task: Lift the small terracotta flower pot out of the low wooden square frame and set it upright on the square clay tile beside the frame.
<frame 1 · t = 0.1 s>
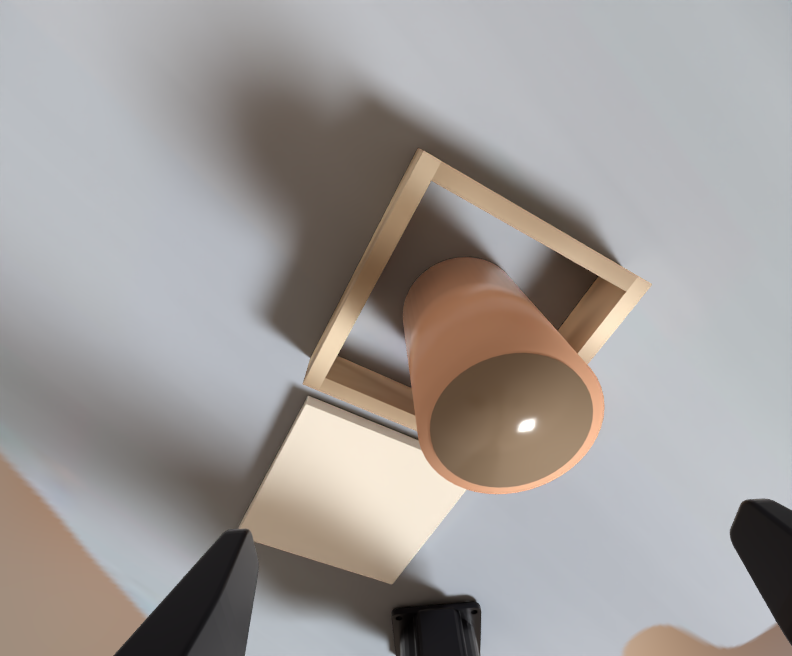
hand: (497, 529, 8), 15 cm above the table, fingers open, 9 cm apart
tile: (354, 495, 27), on the table
pot: (480, 357, 18), in the wooden square frame
wooden square frame: (461, 314, 22), on the table
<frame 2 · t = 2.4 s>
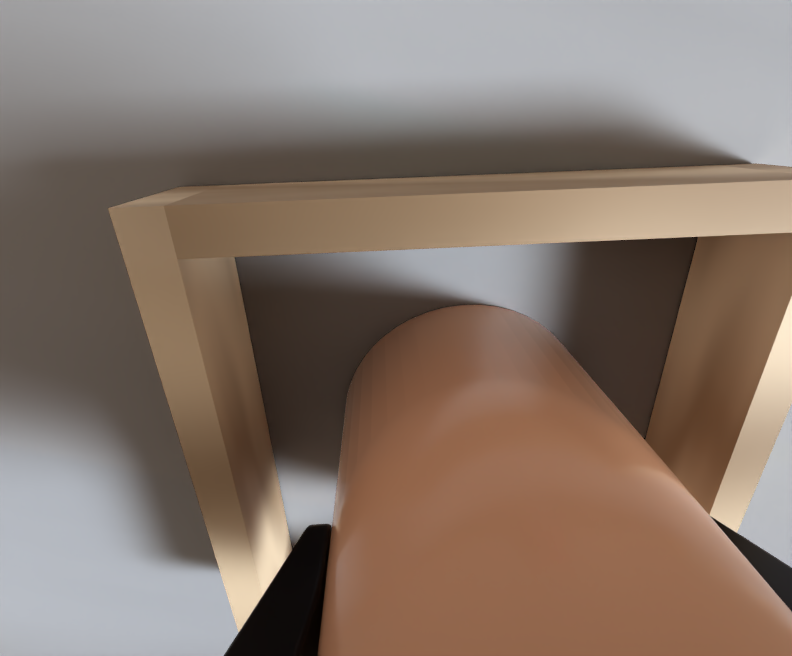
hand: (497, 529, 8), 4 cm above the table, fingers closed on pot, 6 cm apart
pot: (513, 581, 7), in the wooden square frame, touching gripper
wooden square frame: (462, 413, 11), on the table
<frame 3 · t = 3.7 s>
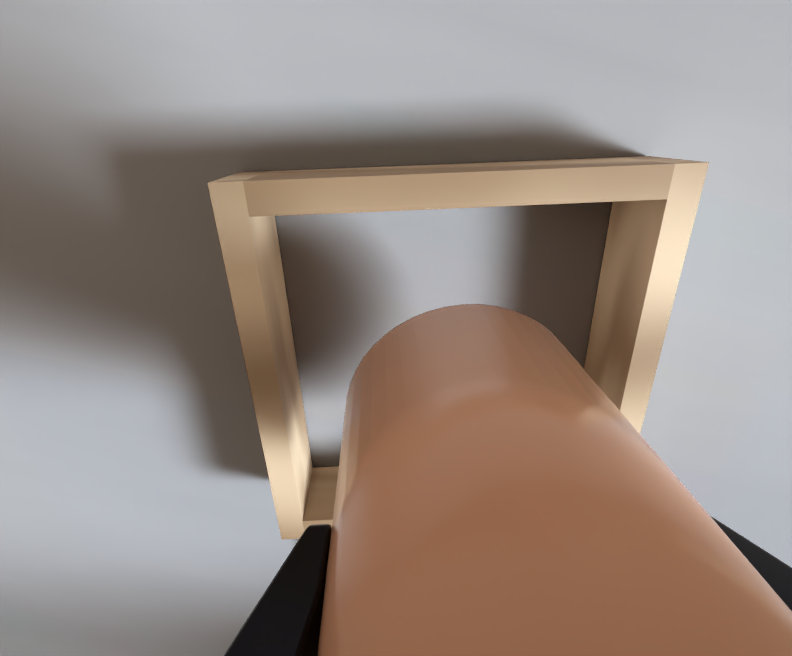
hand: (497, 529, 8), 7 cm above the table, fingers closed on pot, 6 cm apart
pot: (512, 579, 7), point 8 cm above the table, touching gripper
wooden square frame: (443, 346, 15), on the table
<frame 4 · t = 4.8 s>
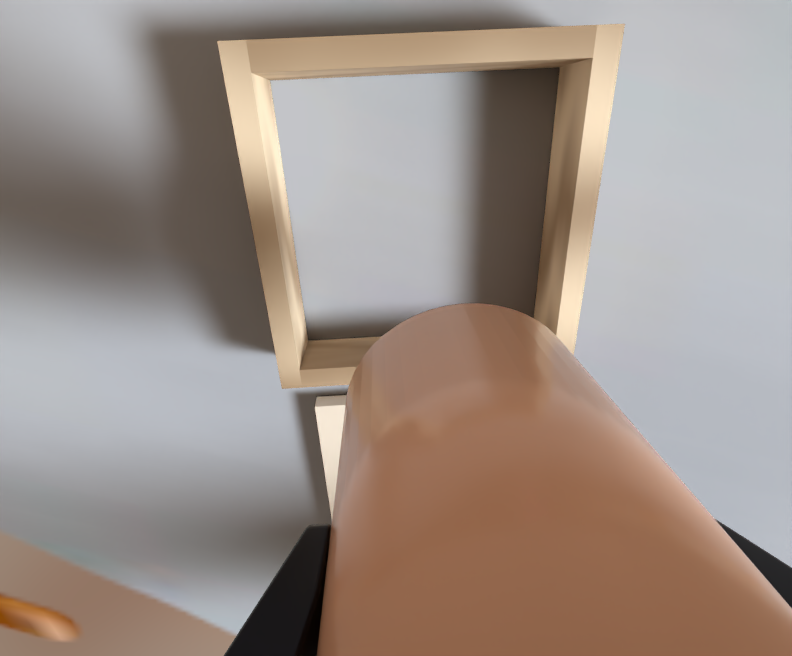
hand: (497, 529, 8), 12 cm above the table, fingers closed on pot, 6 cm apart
tile: (433, 476, 23), on the table
pot: (513, 579, 7), point 13 cm above the table, touching gripper
wooden square frame: (418, 220, 17), on the table
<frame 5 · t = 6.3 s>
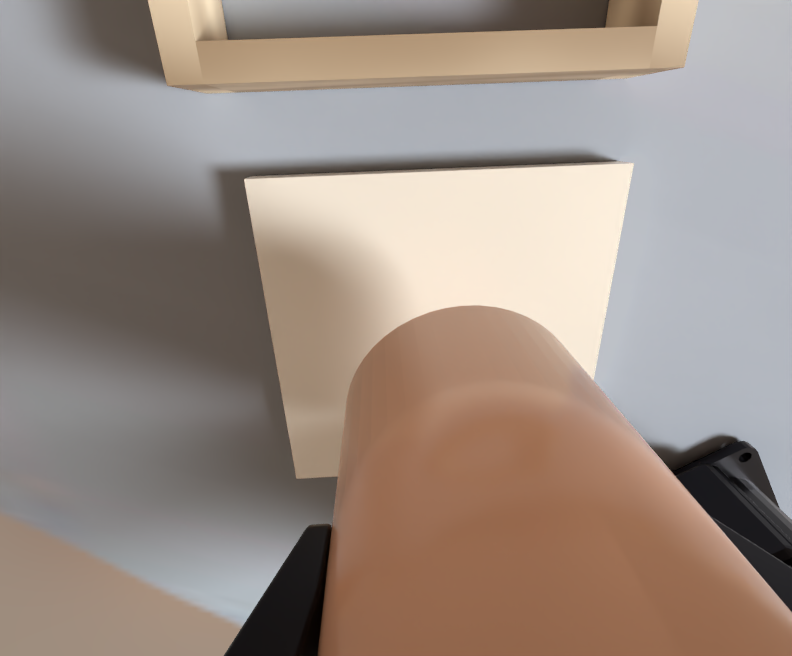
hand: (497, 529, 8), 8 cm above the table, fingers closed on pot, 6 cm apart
tile: (436, 334, 15), on the table
pot: (513, 583, 7), point 9 cm above the table, touching gripper
when the fingers open (5 cm above the table, at t = 7.7 s): pot stays where it is, resting on tile.
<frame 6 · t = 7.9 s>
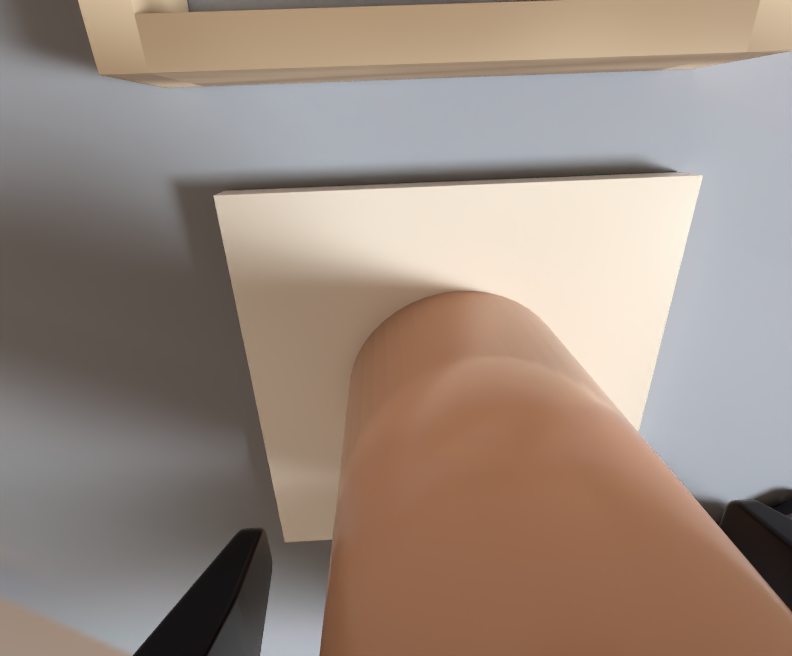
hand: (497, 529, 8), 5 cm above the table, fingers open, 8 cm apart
tile: (450, 377, 13), on the table
pot: (499, 532, 8), on the tile, point 5 cm above the table
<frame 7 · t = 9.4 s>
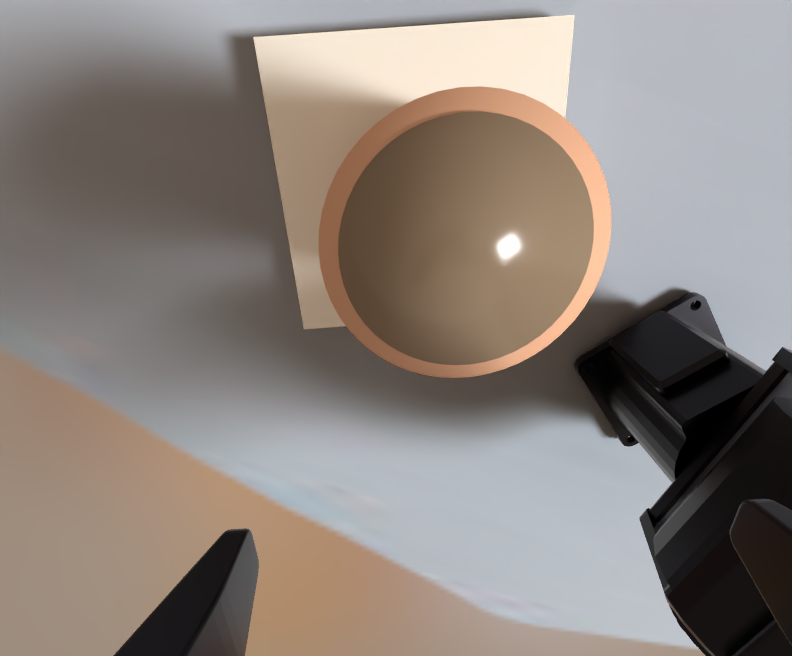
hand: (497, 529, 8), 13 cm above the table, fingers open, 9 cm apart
tile: (419, 190, 18), on the table
pot: (437, 213, 13), on the tile, point 5 cm above the table
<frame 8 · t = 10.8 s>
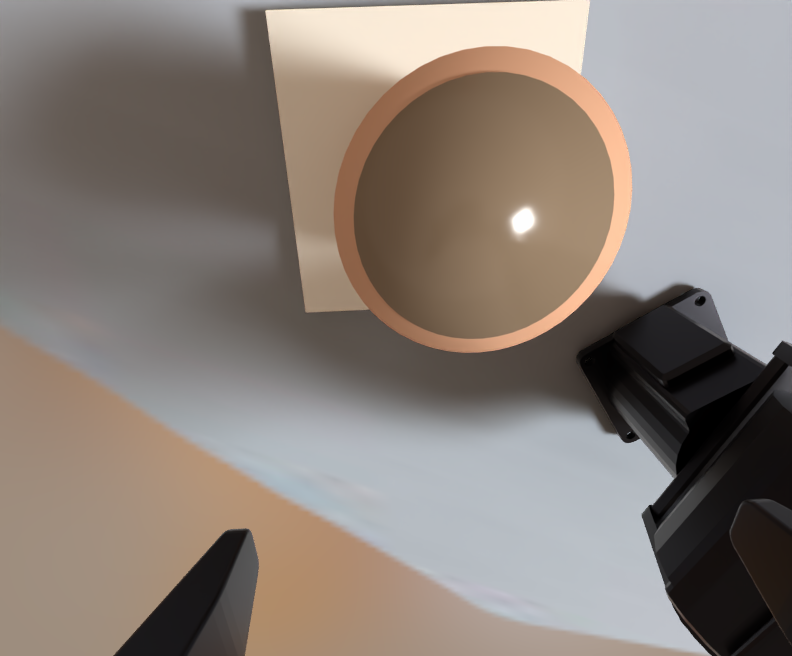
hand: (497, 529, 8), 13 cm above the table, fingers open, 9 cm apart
tile: (427, 174, 18), on the table
pot: (448, 192, 13), on the tile, point 5 cm above the table
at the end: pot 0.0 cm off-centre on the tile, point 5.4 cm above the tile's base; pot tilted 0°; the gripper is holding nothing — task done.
